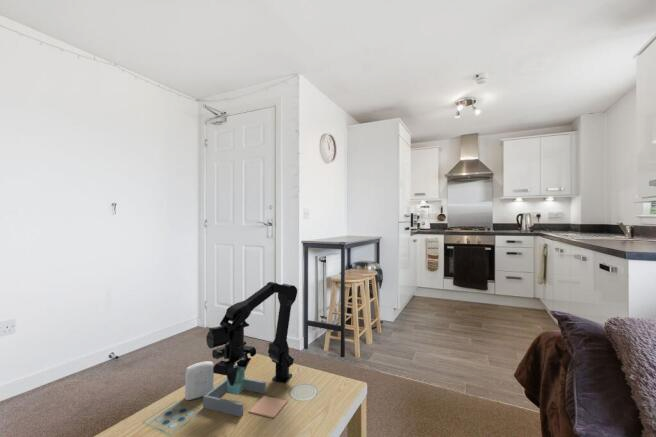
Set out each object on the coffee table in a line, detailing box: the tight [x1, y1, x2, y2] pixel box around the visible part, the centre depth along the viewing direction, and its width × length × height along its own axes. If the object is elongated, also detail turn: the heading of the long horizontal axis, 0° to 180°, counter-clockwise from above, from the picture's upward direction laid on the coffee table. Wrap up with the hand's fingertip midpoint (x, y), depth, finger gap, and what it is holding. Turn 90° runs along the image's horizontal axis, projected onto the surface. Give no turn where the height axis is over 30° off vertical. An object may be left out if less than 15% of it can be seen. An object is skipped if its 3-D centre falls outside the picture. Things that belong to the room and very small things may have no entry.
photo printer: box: [184, 360, 215, 401], centre depth 116 cm, size 10×4×12 cm, turn 123°
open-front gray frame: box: [202, 377, 267, 418], centre depth 113 cm, size 16×16×4 cm
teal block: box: [226, 365, 246, 396], centre depth 113 cm, size 4×4×8 cm
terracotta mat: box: [248, 395, 288, 419], centre depth 108 cm, size 10×10×1 cm
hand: (235, 382), depth 113 cm, fingers closed on teal block, 4 cm apart
